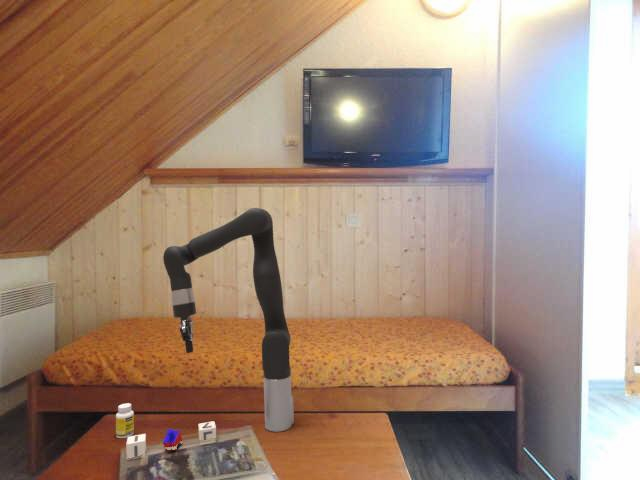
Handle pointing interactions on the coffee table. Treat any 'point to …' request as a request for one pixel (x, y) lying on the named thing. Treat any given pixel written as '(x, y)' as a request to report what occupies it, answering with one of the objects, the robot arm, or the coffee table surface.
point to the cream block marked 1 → (136, 445)
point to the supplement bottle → (124, 421)
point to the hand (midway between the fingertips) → (190, 352)
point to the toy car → (172, 438)
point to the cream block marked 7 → (207, 430)
